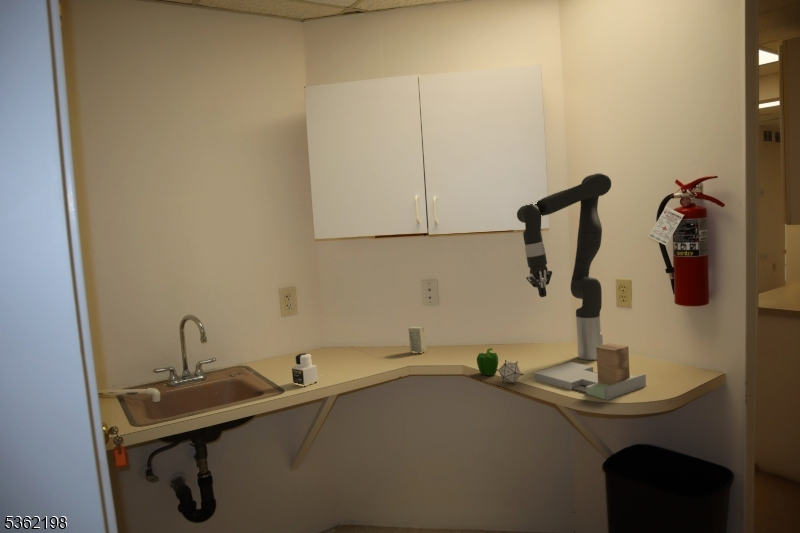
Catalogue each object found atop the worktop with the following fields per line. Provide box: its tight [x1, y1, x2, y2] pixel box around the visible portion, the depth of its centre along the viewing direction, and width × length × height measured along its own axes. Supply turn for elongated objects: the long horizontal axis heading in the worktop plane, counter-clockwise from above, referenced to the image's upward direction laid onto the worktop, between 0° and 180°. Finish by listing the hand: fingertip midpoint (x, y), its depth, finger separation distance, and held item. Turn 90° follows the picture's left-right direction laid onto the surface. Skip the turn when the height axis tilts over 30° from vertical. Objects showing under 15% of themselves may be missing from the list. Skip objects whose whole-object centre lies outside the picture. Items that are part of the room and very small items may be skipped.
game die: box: [496, 359, 524, 386], centre depth 186 cm, size 9×8×10 cm
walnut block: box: [596, 342, 631, 385], centre depth 170 cm, size 7×7×12 cm
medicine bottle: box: [291, 352, 319, 385], centre depth 204 cm, size 7×7×12 cm
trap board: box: [533, 361, 647, 401], centre depth 180 cm, size 20×31×4 cm, turn 31°
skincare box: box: [407, 326, 427, 352], centre depth 241 cm, size 6×4×12 cm
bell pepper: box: [476, 347, 499, 376], centre depth 199 cm, size 8×8×10 cm
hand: (543, 296), depth 206 cm, fingers closed
